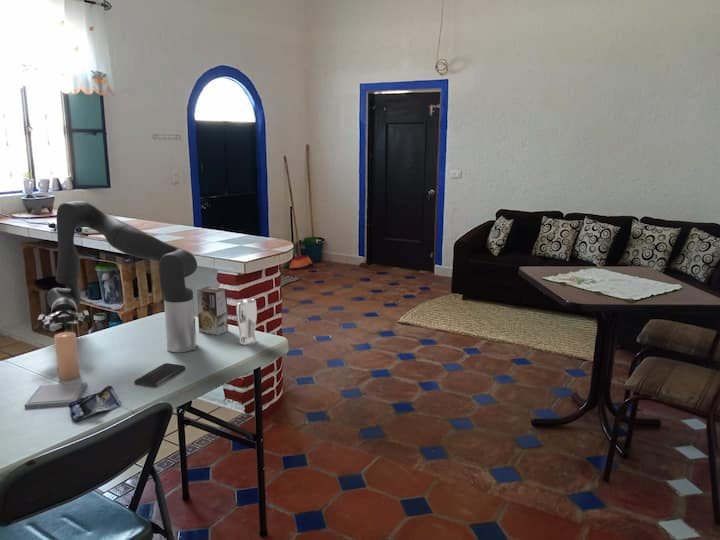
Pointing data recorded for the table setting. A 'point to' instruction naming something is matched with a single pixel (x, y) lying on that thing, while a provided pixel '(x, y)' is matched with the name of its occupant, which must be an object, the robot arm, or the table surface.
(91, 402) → the snack package
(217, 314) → the coffee box
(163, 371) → the phone
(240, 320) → the beer glass
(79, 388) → the coaster
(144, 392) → the table surface
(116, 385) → the table surface
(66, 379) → the peach tall cylinder
